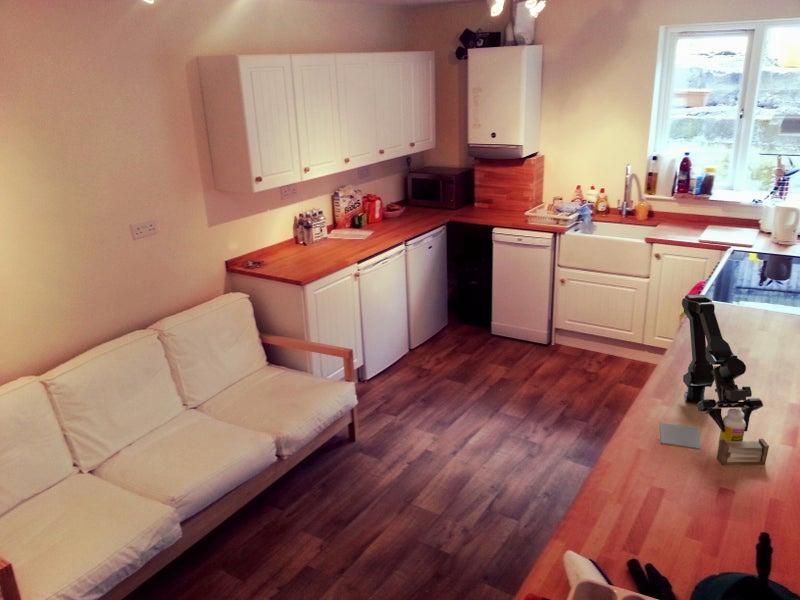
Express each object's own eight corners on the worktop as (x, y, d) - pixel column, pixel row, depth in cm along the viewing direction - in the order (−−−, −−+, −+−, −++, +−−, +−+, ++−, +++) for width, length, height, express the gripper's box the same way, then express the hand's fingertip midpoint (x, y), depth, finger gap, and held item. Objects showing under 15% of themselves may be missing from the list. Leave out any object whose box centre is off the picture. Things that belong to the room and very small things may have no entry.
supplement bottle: (728, 454, 208) (734, 420, 203) (713, 442, 214) (719, 409, 209) (745, 450, 210) (752, 416, 205) (730, 438, 216) (737, 405, 211)
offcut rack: (716, 458, 207) (719, 439, 204) (759, 457, 206) (763, 438, 204) (721, 465, 203) (725, 446, 201) (765, 464, 203) (769, 446, 200)
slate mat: (660, 423, 226) (660, 422, 225) (698, 429, 222) (698, 428, 222) (660, 443, 215) (660, 442, 215) (700, 449, 211) (700, 448, 211)
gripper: (705, 378, 207) (715, 427, 201) (765, 376, 206) (777, 426, 201) (692, 386, 217) (701, 434, 212) (749, 385, 217) (760, 432, 211)
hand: (734, 431), depth 208 cm, fingers closed on supplement bottle, 7 cm apart
